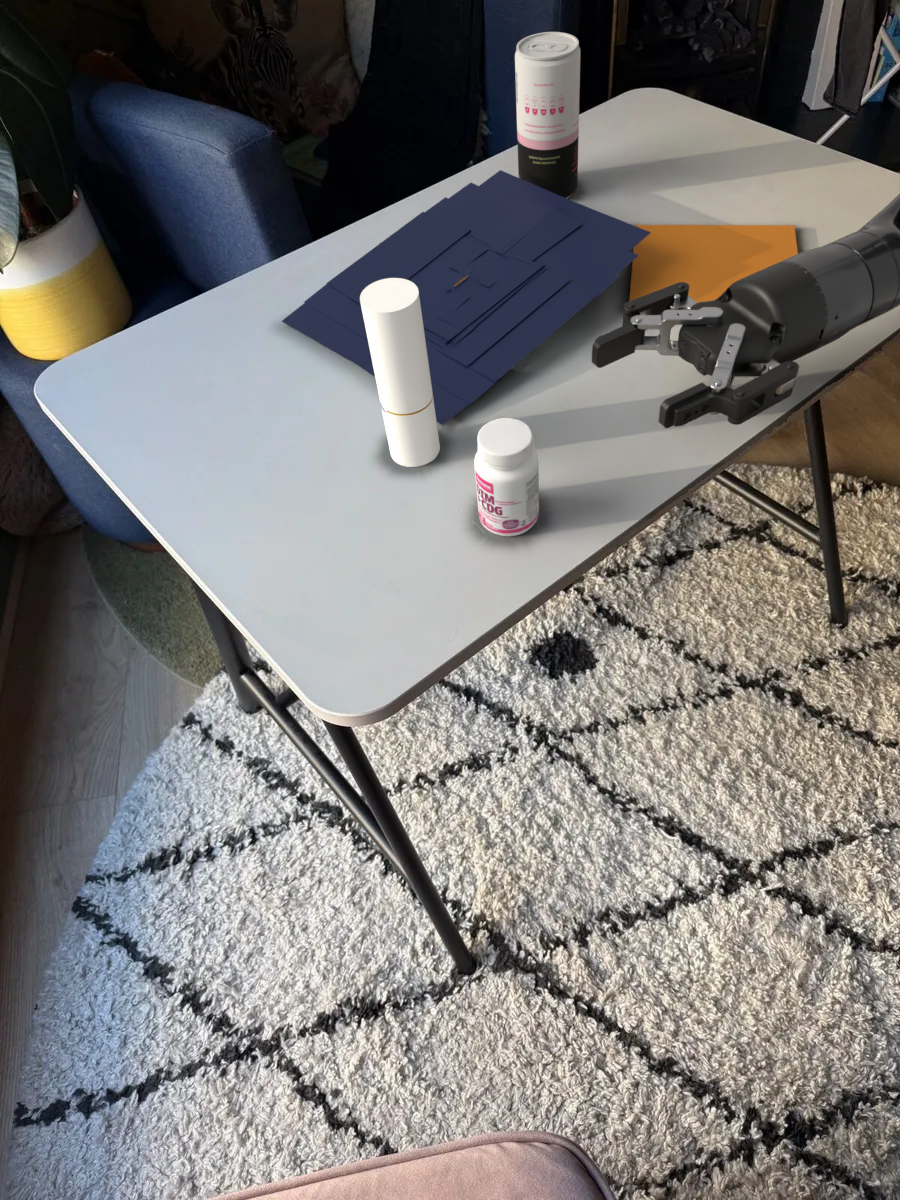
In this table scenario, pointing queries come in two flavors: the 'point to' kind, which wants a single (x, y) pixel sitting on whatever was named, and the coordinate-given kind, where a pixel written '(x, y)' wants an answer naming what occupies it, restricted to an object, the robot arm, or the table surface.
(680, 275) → the amber mat
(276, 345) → the table surface
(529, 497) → the pill bottle
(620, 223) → the papers
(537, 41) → the beverage can
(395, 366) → the tube
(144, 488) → the table surface
